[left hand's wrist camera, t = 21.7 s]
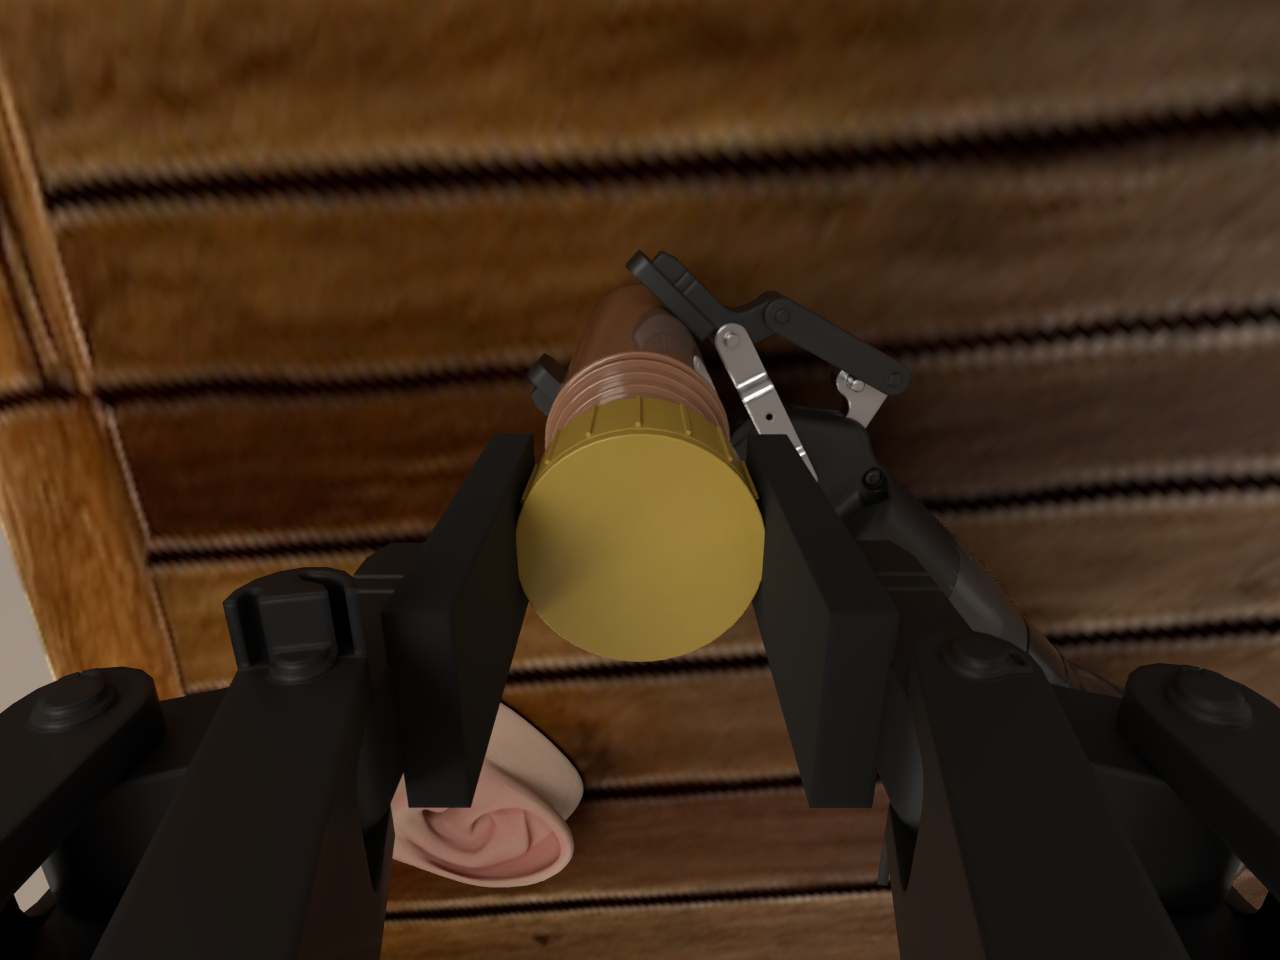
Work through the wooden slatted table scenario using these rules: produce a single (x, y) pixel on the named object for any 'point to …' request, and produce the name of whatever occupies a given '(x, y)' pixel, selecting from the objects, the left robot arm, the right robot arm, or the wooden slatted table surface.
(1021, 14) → the wooden slatted table surface
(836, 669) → the left robot arm
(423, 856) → the anatomical model
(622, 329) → the bottle
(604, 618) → the cap
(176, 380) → the wooden slatted table surface
